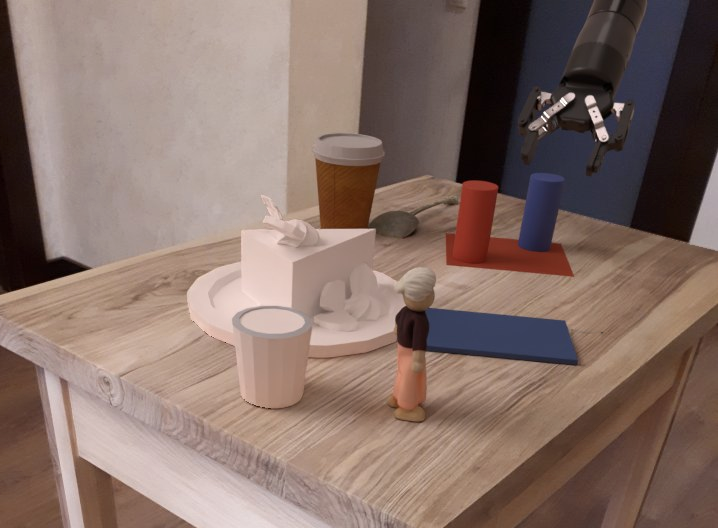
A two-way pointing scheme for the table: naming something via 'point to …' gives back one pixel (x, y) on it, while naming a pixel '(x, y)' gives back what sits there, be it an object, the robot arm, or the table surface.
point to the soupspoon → (403, 220)
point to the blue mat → (500, 336)
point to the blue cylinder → (540, 211)
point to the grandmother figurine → (412, 343)
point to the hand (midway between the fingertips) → (556, 167)
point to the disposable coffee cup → (346, 178)
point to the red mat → (516, 258)
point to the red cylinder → (475, 221)
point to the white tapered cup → (272, 354)
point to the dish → (303, 285)
